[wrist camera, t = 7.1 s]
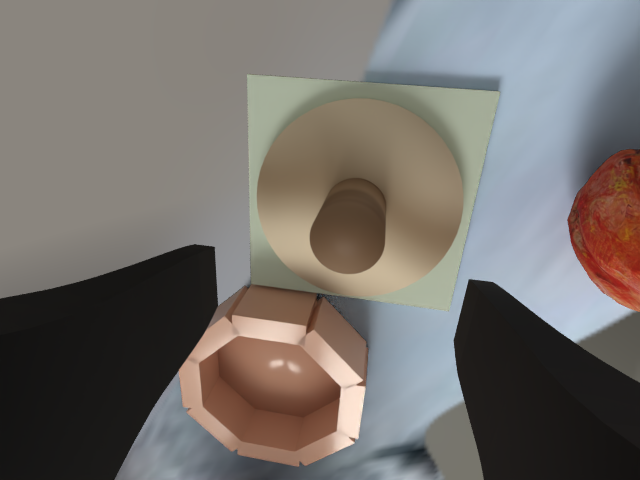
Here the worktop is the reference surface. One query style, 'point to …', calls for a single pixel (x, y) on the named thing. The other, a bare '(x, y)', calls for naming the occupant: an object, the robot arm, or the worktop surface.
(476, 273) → the worktop surface
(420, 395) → the worktop surface
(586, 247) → the pomegranate
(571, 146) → the worktop surface
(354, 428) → the dish
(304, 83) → the mat
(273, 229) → the lid
